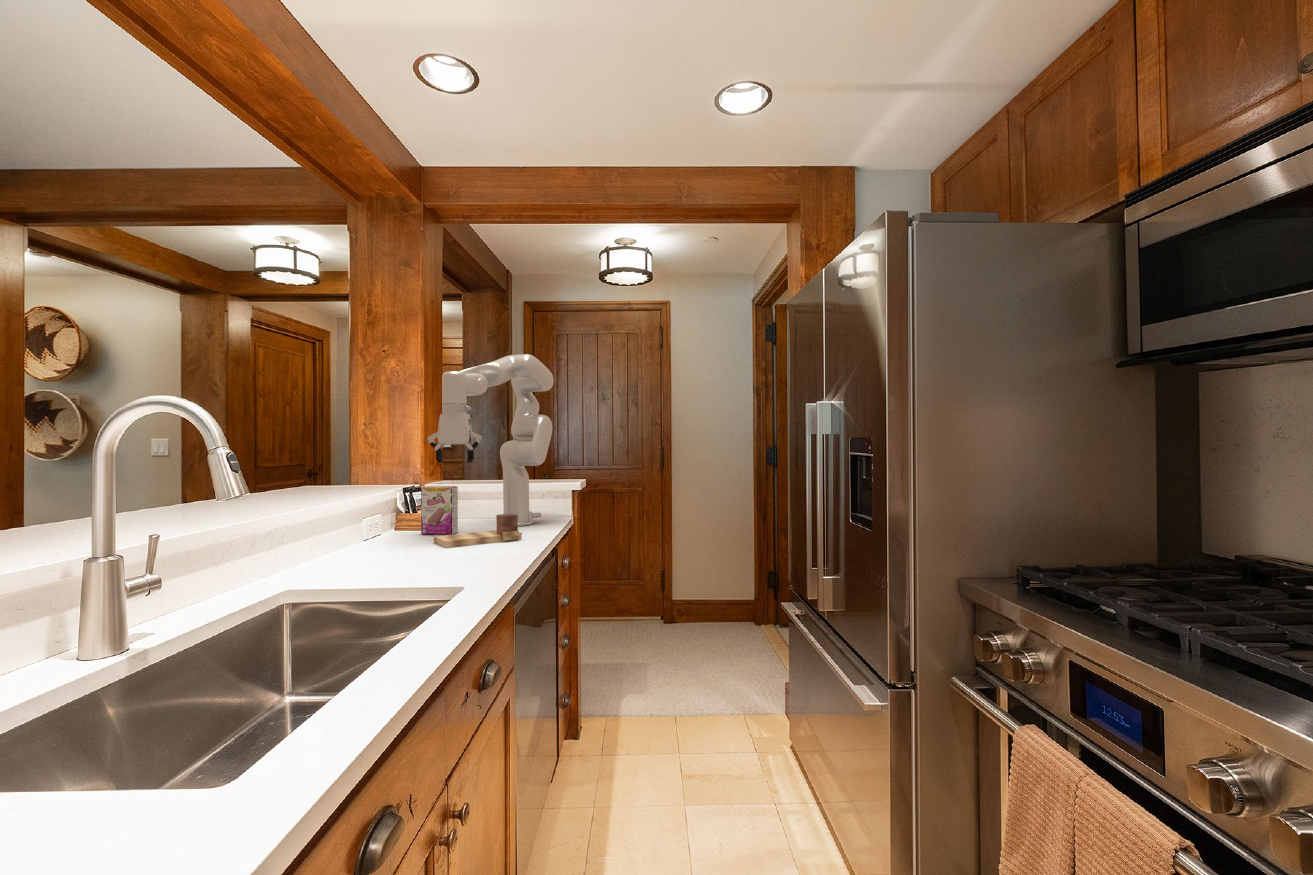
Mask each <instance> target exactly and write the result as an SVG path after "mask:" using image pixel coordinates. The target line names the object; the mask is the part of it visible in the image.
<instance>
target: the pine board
mask: <svg viewBox="0 0 1313 875" xmlns="http://www.w3.org/2000/svg"><path fill="white" fill-rule="evenodd" d="M522 534H523V533H522V532H519V539H515V540H506V541H503V535H500V534H497V529H492V530H485V531H484V530H483V531H475V532H466V533H465V532H463V533H456V534H453V535H433V543H434V544H435V545H438V546H440V547H442V548H445V549H450V548H458V547H460V548H461V547H468V546H477V545H485V544H494V543H503V542H513V541H520V540H522V539H523V537H522Z"/></svg>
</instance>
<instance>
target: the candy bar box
mask: <svg viewBox="0 0 1313 875" xmlns="http://www.w3.org/2000/svg"><path fill="white" fill-rule="evenodd" d="M458 488H459V487H458V486H457V485H423V486H421V487H420V491H421V492H420V500H421V501H420V511H421V512H420V514H421V520H420V522H421V523H420V524H421V528H420V534H421V535H422V536H423V535H425V536H428V535H430V536H443V535H453V534H459V517H458V516H459V515H458V514H459V513H458V512H459V510H458V509H459V508H458V507H459V506H458V505H459V504H458V503H459V502H458V499H459V498H458V495H459V492H458V491H459V489H458Z"/></svg>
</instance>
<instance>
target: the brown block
mask: <svg viewBox="0 0 1313 875" xmlns="http://www.w3.org/2000/svg"><path fill="white" fill-rule="evenodd" d="M496 530H497V534H500V535H503V541H504V542H507V541H506V540H513V541H516V540H515V539H519V533H520V531H519V526H518V515H516V514H504V513H503V514H496Z"/></svg>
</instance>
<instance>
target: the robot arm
mask: <svg viewBox="0 0 1313 875" xmlns="http://www.w3.org/2000/svg"><path fill="white" fill-rule="evenodd" d="M509 381H511V382H510V383H511V387H512V389H513V391H514V394H515V397H516V400H517V402H516V403H517V405H516V409H515V413H514V416H513V419H512V424H511V428H510V432H511V435H512V437H513V438H514V439H515V440H507V441H506V442H504V443H503V444H501V447H500V451H499V455H500V456H499V457H500V461H501V466H502V493H503V498H502V499H503V500H502V501H503V502H502V503H503V504H502V505H503V508H502V509H503V512H502V513H503V514H516V515H518V527H523V526H524V527H525V526H530V525H533V524H534V519H535V518H536V519H537V518H542V512H533V511H530V477H529V473H528V471H527V469H526V467H527V466H529V467H533V466H534V467H537V466H540V465H542V464H544V462H545V461H546V458H547V455H548V450H549V447H550V443H551V439H552V435H553V422H552V420H551V418H550V417H549V416H548V415H545V414H539V412H540V404H539V401H538V400H537V398H536V396H535V395H534V394H533V393H534V392H535V393H536V392H547V391H550V390H551V389H552V388H553V386H554V376H553V373H552V372H551V370H550V369H548V367H546V365H544V364H543V362H541V361H540V360H539V359H538V358H537V357H536V356H534V355H532V354H530V353H529V354H528V353H524V354H511V355H506V356H503V357H501V358H498V359H496V360H493V361H490V362H487V363H483V364H479V365H477V366H476V365H475V366H472V367H469V368H466V369H462V370H458V371H454V370H450V371H445V372H443V373H442V375H441V396H442V397H441V398H442V399H441V402H442V404H441V406H442V412H441V413H440V414H439V419H438V428H437V432H435V433H433V434H430V435H429V436H427V440H428V443H429V444H430V447H431V448H433V449H434V450H435V461H437V464H441V463H443V462H444V461H443V460H444V458H443V457H444V456H443V454H444V451H443V450H442V448H444V446H446V445H449V446H450V445H465V447H467V449H468V450H467V463H469V464H470V463H473V461H474V459H475V451H474V450H475V449H476V448H478V447H479V446H480V443H481V441H482V439H483V436H482V435H480V434H478V433H476V432H473V428H472V420H471V416H470V413H468V411H472V406H471V405H468V404H467V403H468V402H467V400H468V399H467V397H470V396H471V397H474V396H475V397H476V396H481V395H483V394H484V393H486V391H487V390H488V388H491V387H496V386H500V385H502V384H505V383H507V382H509ZM473 438H475V441H474V443H473ZM435 439H437V443H436V442H435Z"/></svg>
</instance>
